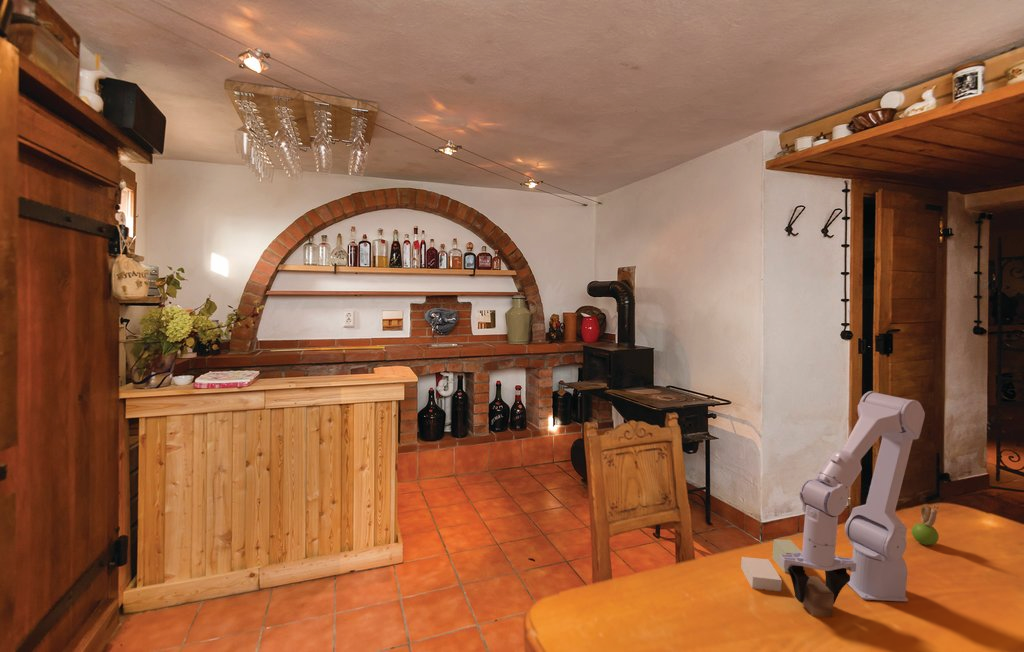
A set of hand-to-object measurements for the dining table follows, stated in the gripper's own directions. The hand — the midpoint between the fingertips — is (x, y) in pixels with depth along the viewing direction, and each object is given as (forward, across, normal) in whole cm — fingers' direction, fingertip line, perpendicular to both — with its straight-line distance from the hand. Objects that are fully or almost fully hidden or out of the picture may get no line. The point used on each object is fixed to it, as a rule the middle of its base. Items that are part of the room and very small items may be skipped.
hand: (814, 600), depth 101 cm
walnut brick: (+2, 0, 0) cm, 2 cm away
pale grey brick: (+2, +7, -9) cm, 12 cm away
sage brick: (+2, -2, -15) cm, 15 cm away
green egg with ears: (+2, -44, -28) cm, 52 cm away
